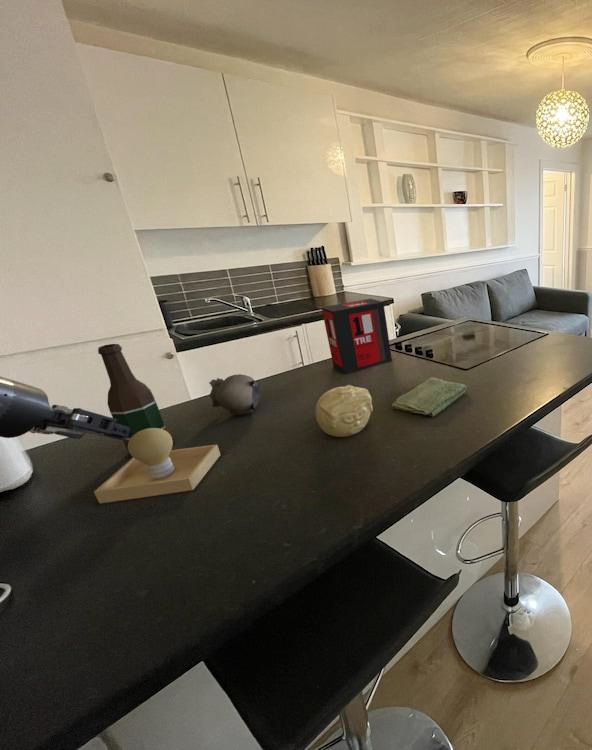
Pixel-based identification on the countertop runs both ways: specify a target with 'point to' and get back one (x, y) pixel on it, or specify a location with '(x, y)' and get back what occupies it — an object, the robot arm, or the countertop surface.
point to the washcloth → (430, 397)
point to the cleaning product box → (357, 334)
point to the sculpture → (344, 410)
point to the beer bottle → (129, 395)
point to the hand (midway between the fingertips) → (104, 433)
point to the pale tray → (139, 484)
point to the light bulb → (153, 451)
